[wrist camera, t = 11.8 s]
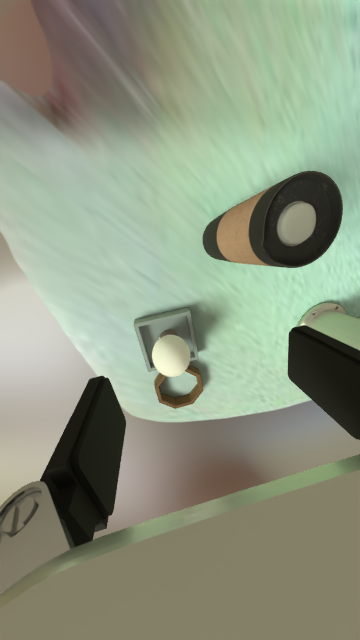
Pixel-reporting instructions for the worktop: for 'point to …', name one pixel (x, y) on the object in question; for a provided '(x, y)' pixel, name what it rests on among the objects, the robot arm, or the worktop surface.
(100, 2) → the worktop surface
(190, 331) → the tray
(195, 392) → the holder ring
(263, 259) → the travel mug
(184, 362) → the light bulb
